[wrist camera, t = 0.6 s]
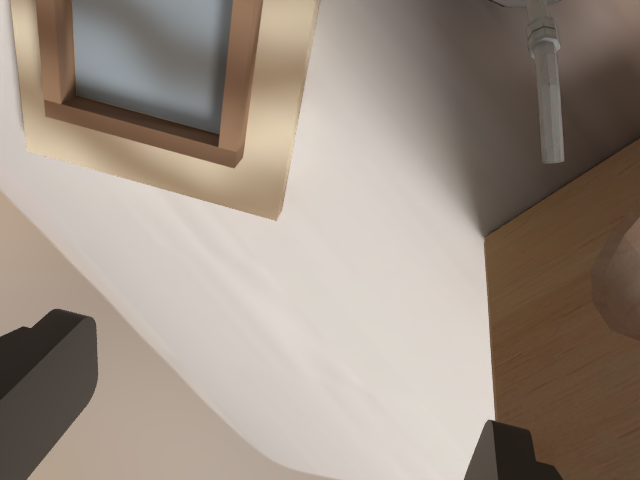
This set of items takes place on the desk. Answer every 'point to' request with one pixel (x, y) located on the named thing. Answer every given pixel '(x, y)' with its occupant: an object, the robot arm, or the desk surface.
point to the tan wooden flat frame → (169, 91)
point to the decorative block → (572, 322)
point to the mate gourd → (544, 74)
